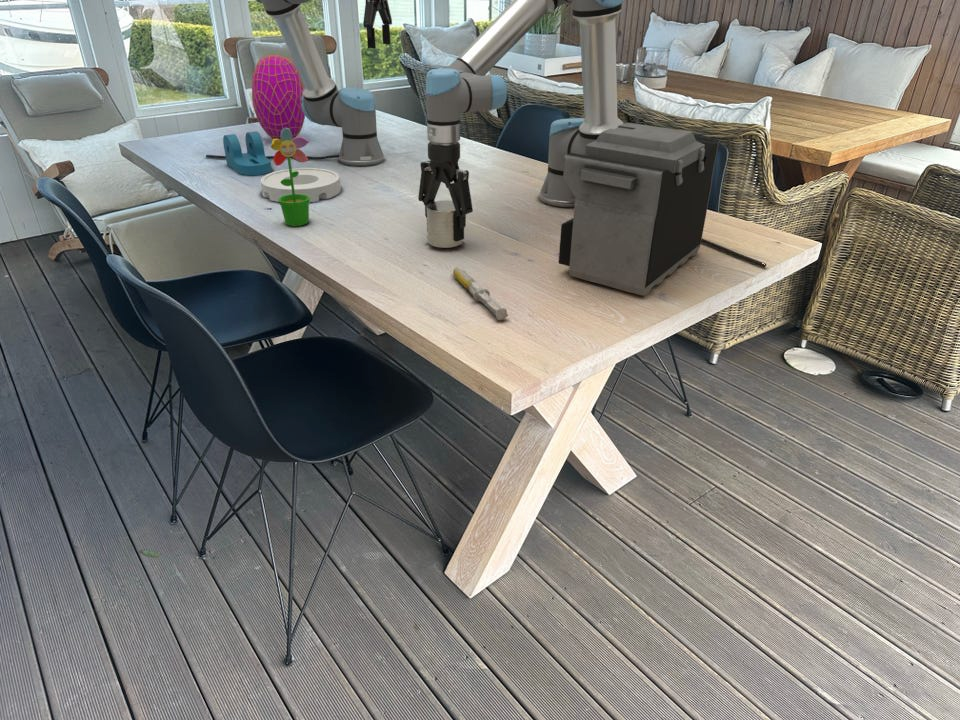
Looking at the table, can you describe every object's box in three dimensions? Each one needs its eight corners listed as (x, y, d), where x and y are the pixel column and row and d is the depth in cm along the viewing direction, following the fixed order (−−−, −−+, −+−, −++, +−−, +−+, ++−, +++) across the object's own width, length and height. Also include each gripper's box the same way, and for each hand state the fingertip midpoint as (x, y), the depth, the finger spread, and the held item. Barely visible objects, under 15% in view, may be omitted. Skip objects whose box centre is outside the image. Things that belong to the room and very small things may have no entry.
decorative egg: (293, 132, 276) (283, 50, 261) (319, 140, 264) (310, 56, 249) (249, 139, 265) (236, 54, 250) (273, 148, 253) (261, 60, 238)
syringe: (449, 274, 155) (449, 263, 153) (465, 272, 156) (464, 260, 154) (490, 323, 135) (491, 310, 133) (508, 319, 136) (508, 307, 134)
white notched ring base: (275, 179, 218) (273, 167, 216) (347, 181, 217) (346, 168, 215) (251, 202, 198) (249, 188, 196) (331, 204, 197) (330, 190, 195)
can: (430, 234, 174) (429, 199, 170) (464, 235, 174) (464, 201, 169) (425, 247, 167) (424, 211, 162) (460, 248, 166) (460, 212, 162)
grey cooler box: (622, 232, 180) (636, 112, 165) (704, 251, 169) (728, 124, 154) (550, 277, 154) (560, 140, 139) (641, 302, 143) (663, 157, 128)
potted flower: (284, 229, 179) (270, 130, 166) (277, 220, 185) (263, 124, 172) (319, 224, 183) (308, 127, 170) (311, 215, 188) (300, 121, 176)
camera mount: (227, 164, 233) (221, 132, 227) (257, 160, 238) (252, 129, 233) (244, 176, 220) (239, 143, 215) (276, 172, 225) (271, 139, 220)
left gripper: (370, -20, 229) (375, 50, 240) (398, -21, 250) (401, 42, 261) (350, -20, 231) (355, 49, 242) (379, -22, 251) (383, 42, 262)
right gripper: (400, 137, 162) (404, 228, 173) (466, 152, 150) (466, 250, 161) (423, 132, 167) (426, 221, 178) (489, 146, 154) (487, 242, 166)
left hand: (379, 46), depth 251 cm, fingers open, 13 cm apart
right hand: (445, 235), depth 170 cm, fingers closed on can, 9 cm apart
